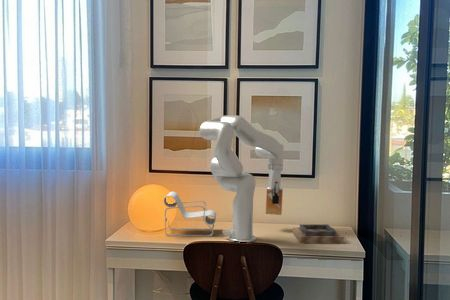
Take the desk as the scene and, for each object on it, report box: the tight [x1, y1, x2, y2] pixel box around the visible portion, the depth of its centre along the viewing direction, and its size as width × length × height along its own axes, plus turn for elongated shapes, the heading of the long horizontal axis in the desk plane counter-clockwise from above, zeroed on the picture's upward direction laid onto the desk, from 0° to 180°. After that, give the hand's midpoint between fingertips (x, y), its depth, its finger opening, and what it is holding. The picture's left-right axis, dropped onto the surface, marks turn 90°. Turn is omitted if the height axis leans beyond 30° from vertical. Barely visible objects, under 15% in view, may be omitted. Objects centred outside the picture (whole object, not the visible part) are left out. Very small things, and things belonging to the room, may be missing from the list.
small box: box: [265, 187, 284, 216], centre depth 224 cm, size 8×6×13 cm
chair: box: [163, 191, 217, 237], centre depth 219 cm, size 13×25×20 cm, turn 90°
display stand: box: [292, 224, 345, 244], centre depth 211 cm, size 20×18×5 cm
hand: (274, 202), depth 224 cm, fingers closed on small box, 7 cm apart
